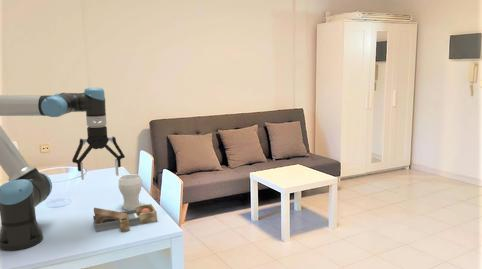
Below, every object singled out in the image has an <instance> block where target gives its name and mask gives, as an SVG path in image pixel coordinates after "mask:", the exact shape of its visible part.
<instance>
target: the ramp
mask: <svg viewBox="0 0 482 269" xmlns="http://www.w3.org/2000/svg"><path fill="white" fill-rule="evenodd" d="M93 213H94V216H95V217H96V223H97V224H100V223H103V217H104V218H110V219H116V220H119V219H120V218H126V217H128V215H127V213H123V212H121V211H116V210H110V209H104V208H99V207H94V208H93ZM128 219H129V217H128Z"/></svg>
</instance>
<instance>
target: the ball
mask: <svg viewBox="0 0 482 269" xmlns="http://www.w3.org/2000/svg"><path fill="white" fill-rule="evenodd" d="M147 212H151V211H150V210H149V209H148V208H144V209H142V210H141V213H147Z"/></svg>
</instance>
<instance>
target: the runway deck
mask: <svg viewBox="0 0 482 269" xmlns="http://www.w3.org/2000/svg"><path fill="white" fill-rule="evenodd" d="M120 212H123V213H127V215H128V217H129V227H134V226H139V225H142V224H141V222H140V217H138V215H137V214H136V209H134V210H123V211H122V210H121V211H120ZM92 219H93V225H94V229H95V233H99V232H100V233H101V232H104V231H105V232H106V231H111V230H116V229H120V223H119V220H116V219H110V218H104V217H103V223H100V224H97V223H96V217H95V215H93V218H92Z"/></svg>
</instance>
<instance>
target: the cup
mask: <svg viewBox="0 0 482 269" xmlns="http://www.w3.org/2000/svg"><path fill="white" fill-rule="evenodd" d="M141 177H142V176H141V175H140V174H135V173H132V174H131V173H130V174H124V175H121V176H119V178H118V189H119V191H120V193H121V195H122V197H123V207H122V209H124V211H127V210H134V209H136V206H140V200H139V199H140V197H139V196H140V194H141V191H142V187H143V182H142V181H143V180H142V178H141Z"/></svg>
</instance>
